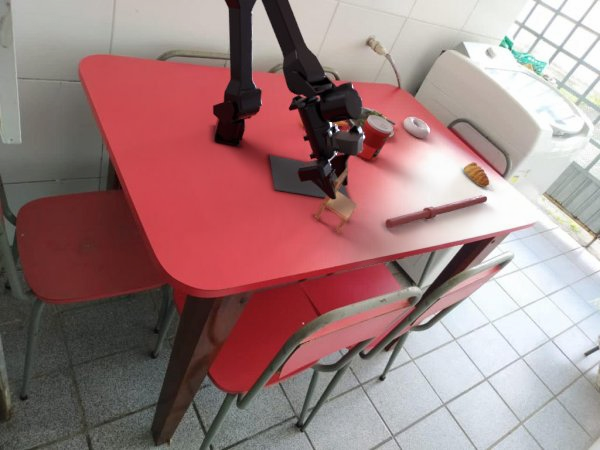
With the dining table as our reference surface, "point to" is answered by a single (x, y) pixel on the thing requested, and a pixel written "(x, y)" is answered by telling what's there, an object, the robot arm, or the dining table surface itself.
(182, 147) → the dining table surface
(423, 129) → the donut
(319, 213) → the toy chair
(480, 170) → the pastry
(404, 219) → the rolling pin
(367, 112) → the salad plate
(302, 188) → the mat
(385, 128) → the canned food
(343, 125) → the carrot
